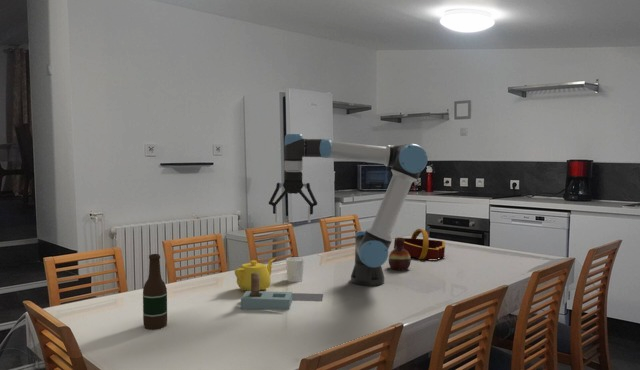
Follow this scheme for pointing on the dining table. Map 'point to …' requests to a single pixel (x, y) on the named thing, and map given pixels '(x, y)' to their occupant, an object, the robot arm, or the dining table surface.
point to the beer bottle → (154, 297)
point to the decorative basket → (423, 246)
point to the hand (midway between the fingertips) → (292, 222)
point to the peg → (255, 284)
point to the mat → (306, 297)
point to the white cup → (295, 269)
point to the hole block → (266, 300)
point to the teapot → (253, 267)
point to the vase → (399, 256)
